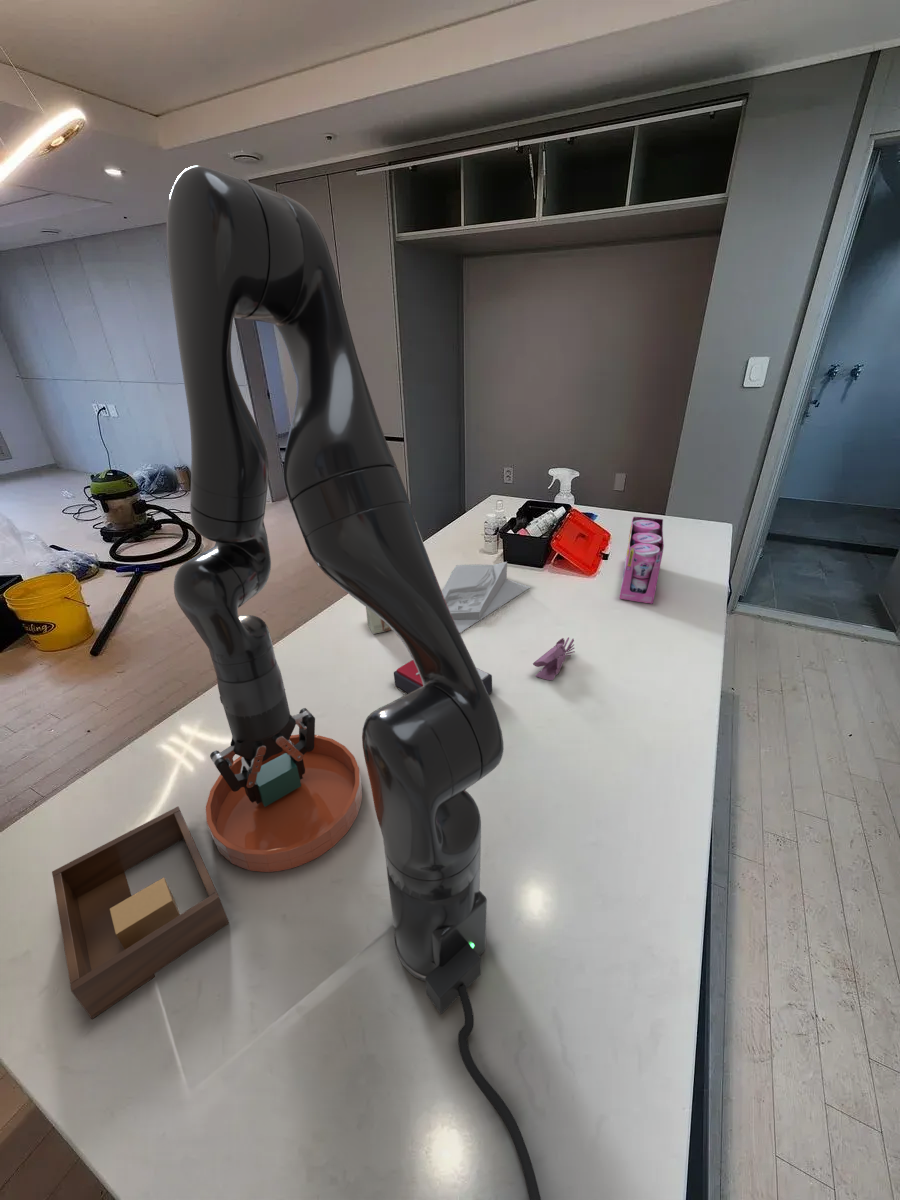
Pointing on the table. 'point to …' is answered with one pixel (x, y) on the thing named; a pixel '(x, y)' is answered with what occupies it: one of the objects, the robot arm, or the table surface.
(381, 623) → the pale green tall box
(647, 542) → the gum box
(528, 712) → the table surface
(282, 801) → the bowl
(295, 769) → the teal rectangular block
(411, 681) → the red and grey box
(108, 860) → the holder
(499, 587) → the ramp
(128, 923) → the tan rectangular block
